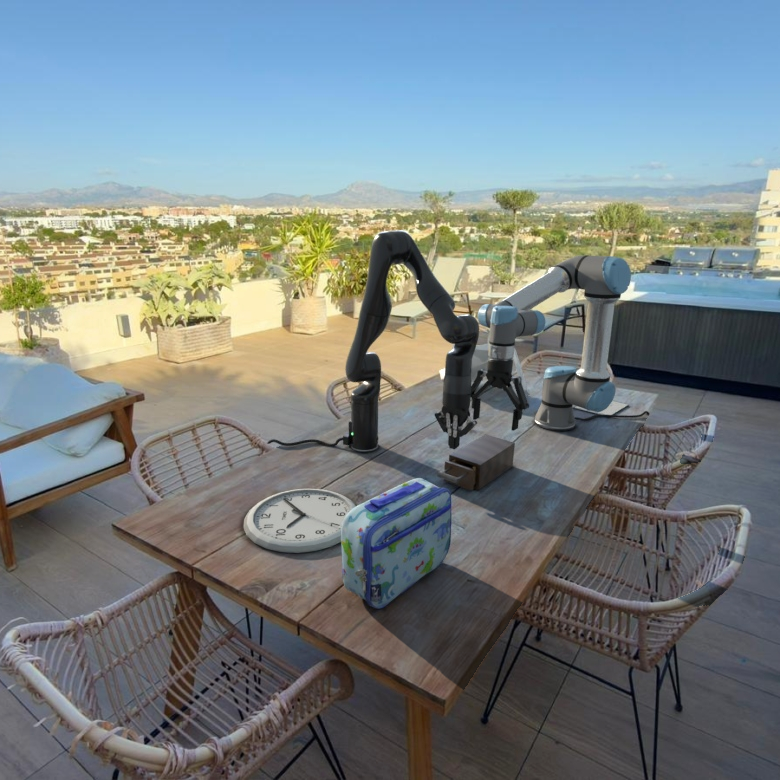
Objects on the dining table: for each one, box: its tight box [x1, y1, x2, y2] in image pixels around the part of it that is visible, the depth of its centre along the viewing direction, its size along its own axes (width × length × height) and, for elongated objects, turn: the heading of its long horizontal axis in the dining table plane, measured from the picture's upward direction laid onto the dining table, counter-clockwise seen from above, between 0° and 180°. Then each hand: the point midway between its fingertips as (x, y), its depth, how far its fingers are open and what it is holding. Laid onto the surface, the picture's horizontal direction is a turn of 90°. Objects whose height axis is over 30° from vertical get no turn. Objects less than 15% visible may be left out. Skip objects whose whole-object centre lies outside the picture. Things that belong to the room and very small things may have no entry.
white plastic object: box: [438, 342, 531, 397], centre depth 245 cm, size 37×45×31 cm
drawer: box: [436, 459, 477, 491], centre depth 157 cm, size 26×10×6 cm, turn 140°
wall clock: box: [243, 488, 357, 554], centre depth 136 cm, size 30×2×30 cm
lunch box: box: [340, 477, 452, 610], centre depth 110 cm, size 26×11×21 cm, turn 134°
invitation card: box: [573, 400, 629, 415], centre depth 226 cm, size 21×1×15 cm
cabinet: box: [448, 433, 516, 491], centre depth 162 cm, size 22×11×8 cm, turn 140°
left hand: (453, 447), depth 147 cm, fingers closed
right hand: (494, 423), depth 164 cm, fingers open, 13 cm apart
